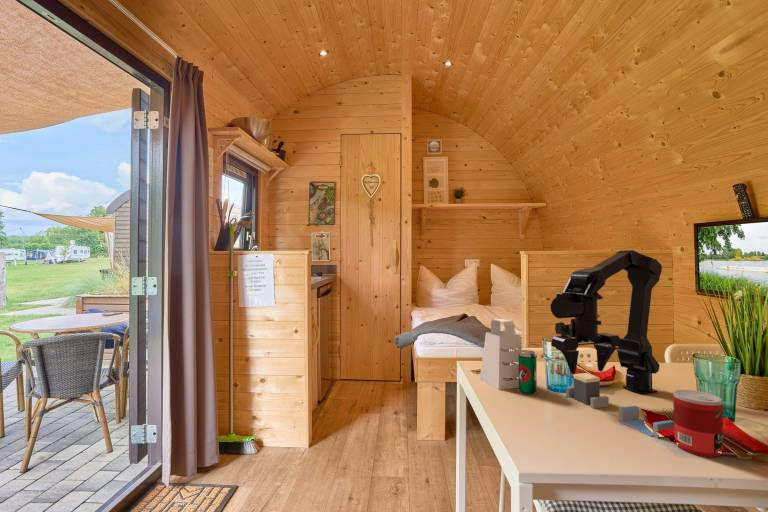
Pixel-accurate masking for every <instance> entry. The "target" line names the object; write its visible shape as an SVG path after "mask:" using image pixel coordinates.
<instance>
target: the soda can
mask: <svg viewBox="0 0 768 512" xmlns="http://www.w3.org/2000/svg"><path fill="white" fill-rule="evenodd" d="M537 358H538V356H537V355H536V352H535V351H533V350H531V349H522V350H521V351H520V353H519V355H518V362H517V364H519V387H518V391H519V392H520V393H521V394H524V395H535V394H537V391H538V386H537V385H538V380H537V376H538V374H537V373H538V371H537V370H538V368H537V366H538V365H537V362H538V361H537Z"/></svg>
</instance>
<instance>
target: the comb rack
mask: <svg viewBox="0 0 768 512" xmlns="http://www.w3.org/2000/svg"><path fill="white" fill-rule="evenodd" d="M565 389H566V390H565V396H566V398H567V397H568V398H572V397H573V398H574V385H573V386H566V388H565ZM609 399H610V398H609V396H606V395H600V397H592V398H590V405H589V406H590V408H591V409H593V410H594V409H599V408H607V407H609V405H610V403H609V402H610V400H609ZM644 420H645V419H642V418H640V407H638V406H636V405H632V406H631V405H630V406H624V407H618V421H619V422H621V424H623V425H626V426H628V427H630V428H633V429H634V430H636V431H639V432H642V433H644V434H646V435H648V436H650V437H654V438H656V439H660V438H659V435H658V434H657V433H656V432H655V431H657V432H658V431H661V430H667V429H673V428H674V420H671V419H669V420H662V421H655V422H652V424H653V433H652V432H651V431H650V430H649V429H648V428H647V427H646V426H645V423H644Z"/></svg>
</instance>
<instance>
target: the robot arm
mask: <svg viewBox="0 0 768 512" xmlns="http://www.w3.org/2000/svg"><path fill="white" fill-rule="evenodd" d="M622 270H624V271H626V272H627V279H628V281H629V284H630V285H631V294H630V295H631V296H630V305H629V315H628V323H627V332H626V334H625V336H624V337H622V338H620V336H619V335H617V334H612V333H608V332H600V333H599V327H598V326H599V325H602V320H599V318H598V301H599V300H603V296H602V295H601V294H600V293H598V292H599V291H600V290H601V289H602V288H603V287H605V286H606V281H607V280H608V279H609V278H612V277H613V276H614V275H616V274H618V273H619V272H621V271H622ZM662 271H663V265H662V264H661V263H660V262H659V261H658V259H656V258H653V257H650V256H649V255H648V256H647V255H644V254H642V253H639V252H638V251H636V250H634V249H631V250H630V249H629V250H628V249H627V250H618V251H616V252H615V254H612V255H611V256H610V257H608V258H606V259H604V260H602V261H601V262H599V263H597V264H596V265H594V266H591V267H585V268H582V269H577V270H575V271H573V272H572V273H570V277H569V278H568V281H567V283H566V285H565V287H564V289H563V290H562V292H557V293H556V297H554V298H553V299H552V301H551V304H550V311H551V313H552V315H553V317H555V318H556V319H558V320H559V319H570V323H569V324H565V322H563V321H562V322H557V323H554V331H555V333H556V336H553V337H552V339H551V347H552V348H555V349H556V350H557V351H560V352H561V353H562V355H563V357H564V358H565V362H566V364H567V366H568V369H569V371H570V374H571V375H573V374H576V371H577V366H578V360H579V356H580V355H579V353H580V351H579V350H577V349H578V348H579V346H586V345H589V346H590V345H593V346H594V348H595V350H596V362H597V363H596V364H597V365H596V366H597V370H598V371H599V372H603V370H604V369H605V367H606V365H607V363H608V362H609V360H610V358H611V357H612V355H613V354H614V352H615V351H616V352H617V357H618V360H619V361H618V362H619V364H620V368H621V367H622V368H625V369H626V373H625V385H622V386H621V387H622V388H623V389H626V390H628V391H632V392H634V393H637V394H639V395H644V394H653V393H657V392H658V390H657V389H655V388H653V375H654V374H657V373H659V371H660V363H659V362H658V361H657V359H656V358H655V357H654V355H653V346H652V345H651V343H650V341H649V339H648V328H649V317H650V310H651V309H650V308H651V299H652V292H653V291H652V290H653V288H654V287H655V286H656V285H657V284H658V283H659V281H660V278H661V274H662ZM557 335H559V336H557Z"/></svg>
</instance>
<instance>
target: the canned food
mask: <svg viewBox="0 0 768 512" xmlns="http://www.w3.org/2000/svg"><path fill="white" fill-rule="evenodd" d="M672 397H673V401H672V402H673V421H674V436H673V438H674V437H675V439H676V440H678V441H679V442H680V443H679V444H678V446H677V448H679V449H680V450H682V451H684V452H686V453H689V454H691V455H696V456H699V457H700V456H701V457H706V458H719V457H721V456H722V455H721V454H720V453H718V451H720V450H722V449H723V450H724V416H723V415H724V407H723V405H724V404H723V399H722V398H721V397H719V396H718V395H715V394H712V393H709V392H705V391H701V390H700V391H699V390H693V389H676V390H674V391H673V396H672Z"/></svg>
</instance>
